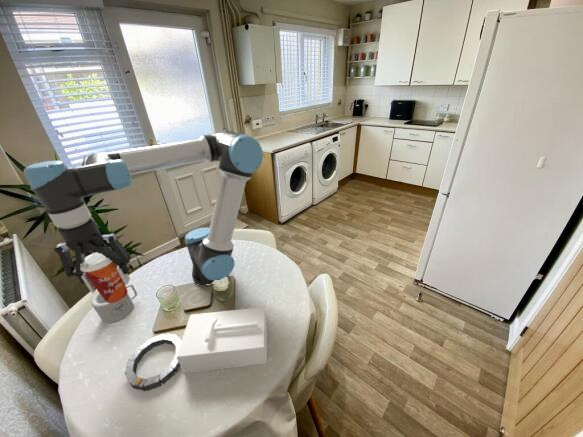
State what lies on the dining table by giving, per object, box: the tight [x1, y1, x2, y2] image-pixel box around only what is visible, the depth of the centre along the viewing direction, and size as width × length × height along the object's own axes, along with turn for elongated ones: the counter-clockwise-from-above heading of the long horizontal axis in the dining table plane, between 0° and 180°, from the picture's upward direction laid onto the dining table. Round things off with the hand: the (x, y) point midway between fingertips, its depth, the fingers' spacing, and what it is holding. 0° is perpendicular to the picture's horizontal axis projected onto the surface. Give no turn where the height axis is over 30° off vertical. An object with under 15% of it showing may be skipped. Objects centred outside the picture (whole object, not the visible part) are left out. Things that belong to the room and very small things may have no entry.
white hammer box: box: [175, 306, 268, 374], centre depth 77 cm, size 14×25×11 cm, turn 95°
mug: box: [90, 284, 138, 325], centre depth 92 cm, size 14×11×10 cm
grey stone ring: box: [124, 333, 182, 392], centre depth 75 cm, size 16×16×3 cm
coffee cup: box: [80, 251, 128, 303], centre depth 72 cm, size 8×8×15 cm
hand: (111, 285), depth 74 cm, fingers closed on coffee cup, 8 cm apart
